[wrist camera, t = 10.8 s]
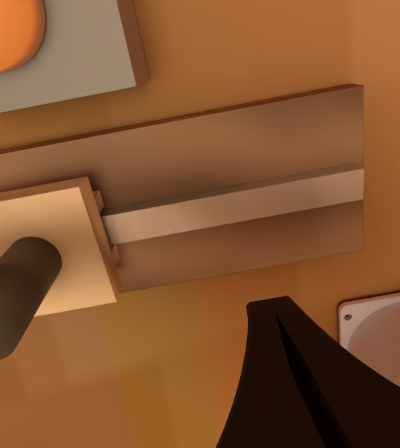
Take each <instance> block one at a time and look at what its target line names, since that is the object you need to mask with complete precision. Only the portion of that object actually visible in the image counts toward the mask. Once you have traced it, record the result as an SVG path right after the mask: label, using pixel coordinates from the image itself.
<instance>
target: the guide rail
mask: <svg viewBox="0 0 400 448" xmlns="http://www.w3.org/2000/svg"><path fill="white" fill-rule="evenodd" d="M362 199H364V168H362V167H360V166H358V165H357V164H355V163H348V164H343V165H337V166H332V167H327V168H321V169H316V170H310V171H305V172H299V173H294V174H289V175H283V176H278V177H272V178H267V179H261V180H256V181H251V182H245V183H240V184H234V185H229V186H223V187H218V188H213V189H207V190H202V191H196V192H191V193H185V194H180V195H175V196H169V197H164V198H158V199H153V200H147V201H142V202H137V203H131V204H126V205H120V206H115V207H110V208H104V209H102V210H101V211H100V213H99V214H100V217H101V220H102V224H103V227H104V230H105V233H106V236H107V240H108V243H109V245H114V244H119V243H125V242H130V241H136V240H141V239H147V238H152V237H158V236H163V235H169V234H175V233H180V232H186V231H191V230H197V229H202V228H208V227H213V226H219V225H224V224H230V223H235V222H241V221H246V220H252V219H257V218H263V217H268V216H274V215H279V214H285V213H290V212H296V211H301V210H307V209H312V208H318V207H323V206H329V205H334V204H340V203H345V202H351V201H356V200H362Z"/></svg>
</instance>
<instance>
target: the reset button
mask: <svg viewBox="0 0 400 448" xmlns="http://www.w3.org/2000/svg"><path fill="white" fill-rule="evenodd" d="M44 30H45V12H44V5H43V1H42V0H0V72H8V71H11V70H15V69H17V68H19V67H21V66H23V65H24V64H26V63H27V62H28V61H29V60H30V59H31V58H32V57H33V56H34V55H35V53H36V52H37V50H38V49H39V47H40V44H41V42H42V39H43V35H44Z"/></svg>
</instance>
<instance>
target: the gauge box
mask: <svg viewBox="0 0 400 448" xmlns="http://www.w3.org/2000/svg"><path fill="white" fill-rule="evenodd" d="M42 1H43V5H44V12H45V30H44V35H43V39H42V42H41V44H40V47H39V49H38V50H37V52H36V53H35V55H34V56H33V57H32V58H31V59H30V60H29V61H28V62H27V63H26V64H24V65H23V66H21V67H19V68H17V69H15V70H11V71H8V72H0V113H1V112H6V111H11V110H16V109H21V108H27V107H32V106H37V105H42V104H47V103H53V102H58V101H63V100H68V99H73V98H78V97H84V96H89V95H94V94H99V93H104V92H110V91H115V90H120V89H125V88H130V87H135V86H138V85H140V84H142V83H144V82H146V81H148V80H150V78H149V73H148V69H147V64H146V60H145V55H144V50H143V46H142V41H141V37H140V32H139V27H138V23H137V18H136V14H135V9H134V4H133V0H42Z"/></svg>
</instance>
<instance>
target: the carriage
mask: <svg viewBox="0 0 400 448" xmlns="http://www.w3.org/2000/svg"><path fill="white" fill-rule="evenodd" d="M103 206H104V203H103V200H102V196H101V193H100V190H98V191H93V192H92V189H91V185H90V182H89V179H88V176H86V177H81V178H76V179H70V180H65V181H60V182H54V183H49V184H44V185H38V186H33V187H28V188H22V189H17V190H12V191H6V192H1V193H0V360H1V359H3V358H5V357H7V356H9V355H10V354H11V353H12V352H13V351H14V350H15V348H16V346H17V345H18V343H19V341H20V339H21V338H22V336H23V334H24V333H25V331H26V329H27V327H28V326H29V324H30V322H31V321H32V319H33V317H34V316H40V315H45V314H51V313H57V312H62V311H68V310H74V309H79V308H85V307H91V306H96V305H102V304H108V303H113V302H117V299H118V295H119V291H120V287H121V281H120V278H119V274H118V271H117V268H116V264H117V261H118V258H119V252H118V249H117V245H116V244H114V245H109V243H108V240H107V236H106V233H105V230H104V227H103V224H102V220H101V217H100V214H99V213H100V211H101V210H102V208H103Z"/></svg>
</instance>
